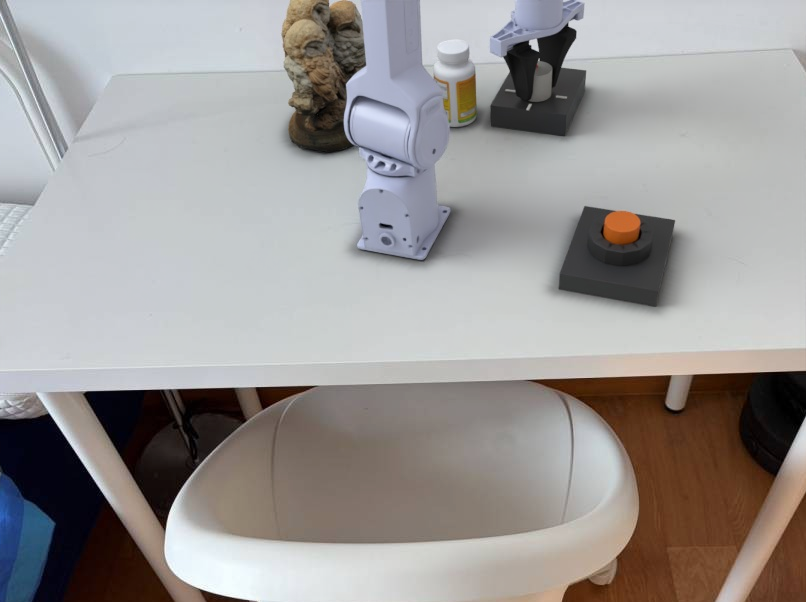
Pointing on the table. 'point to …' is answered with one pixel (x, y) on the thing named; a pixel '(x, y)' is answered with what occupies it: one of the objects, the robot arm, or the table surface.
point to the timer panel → (540, 105)
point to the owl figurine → (321, 69)
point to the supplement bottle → (456, 81)
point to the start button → (621, 227)
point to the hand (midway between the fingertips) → (536, 90)
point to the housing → (617, 259)
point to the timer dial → (542, 82)
